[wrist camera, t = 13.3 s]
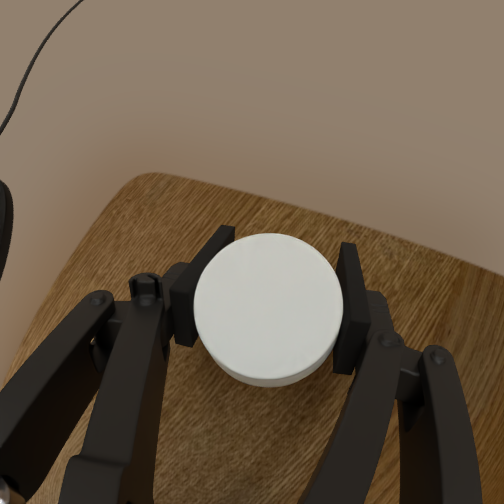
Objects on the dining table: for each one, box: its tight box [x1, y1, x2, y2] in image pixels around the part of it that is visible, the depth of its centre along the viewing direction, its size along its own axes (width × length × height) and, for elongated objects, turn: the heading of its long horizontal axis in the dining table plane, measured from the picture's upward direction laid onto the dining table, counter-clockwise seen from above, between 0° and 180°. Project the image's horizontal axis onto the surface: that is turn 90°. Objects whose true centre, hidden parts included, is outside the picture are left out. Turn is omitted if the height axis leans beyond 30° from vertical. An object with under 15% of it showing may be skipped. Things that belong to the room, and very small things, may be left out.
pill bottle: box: [194, 233, 343, 387], centre depth 14 cm, size 6×6×10 cm
